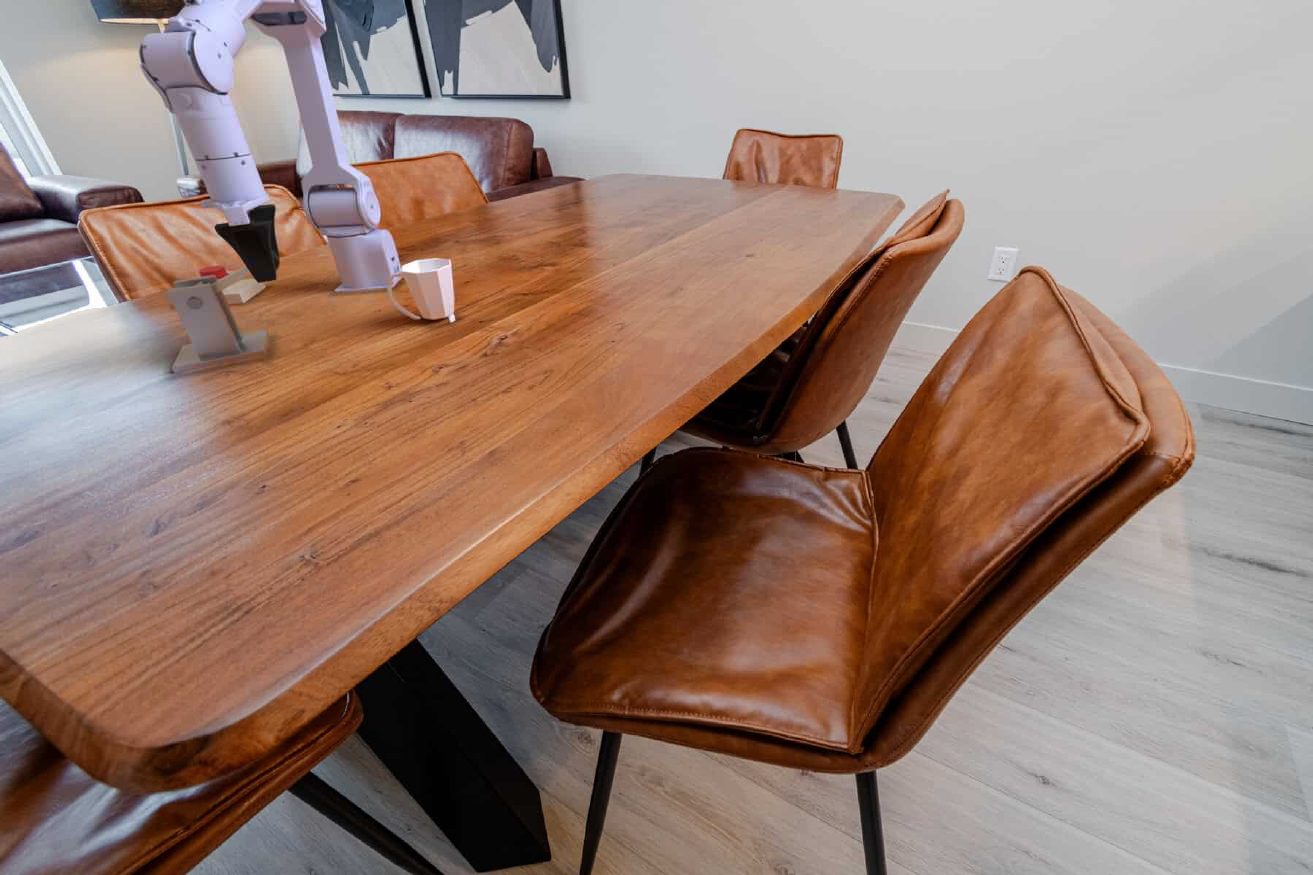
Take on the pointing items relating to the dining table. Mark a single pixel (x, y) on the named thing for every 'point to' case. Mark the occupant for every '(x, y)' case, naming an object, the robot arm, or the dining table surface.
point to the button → (214, 271)
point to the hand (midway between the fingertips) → (269, 273)
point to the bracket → (211, 327)
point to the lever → (236, 276)
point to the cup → (427, 288)
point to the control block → (242, 290)
